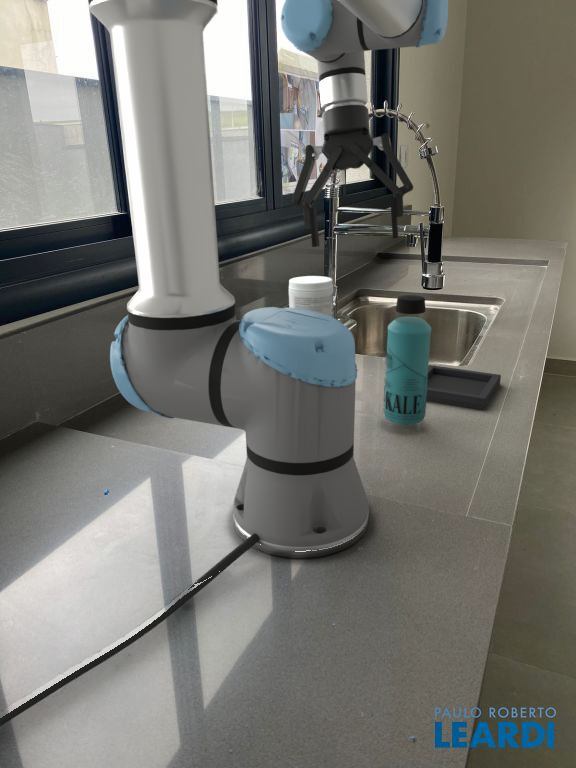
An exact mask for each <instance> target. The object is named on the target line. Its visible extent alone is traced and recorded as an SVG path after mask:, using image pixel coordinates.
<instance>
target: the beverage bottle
mask: <svg viewBox="0 0 576 768" xmlns="http://www.w3.org/2000/svg"><path fill="white" fill-rule="evenodd" d="M395 312H396V313H399V314H404V315H420V314H424V313H426V298H425V297H424V296H422V295H418V294H404V295H399V296H397V299H396V306H395ZM431 335H432V327H431V325H430V324H429V323H428V322H427V321H426V319H424V318H421V317H417V316H399V317H397V318H395V319H393V320H392V321H391V322H390V323H389V324H388V325H387V339H386V340H387V342H386V343H385V345H386V346H385V347H386V350H385V360H384V361H385V362H384V364H385V378H384V382H383V383H384V390H383V408H382V409H383V414H384V417H385V419H386V420H388V421H390V422H392V423H395V424H400V425H414V424H415V425H416V424H418V423H421V422H423V421H424V419H425V418H426V413H427V409H428V405H427V404H428V401H427V400H426V397H427V393H428V392H427V385H428V384H427V382H428V366H429V361H430V349H431Z"/></svg>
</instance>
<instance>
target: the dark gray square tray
mask: <svg viewBox="0 0 576 768" xmlns="http://www.w3.org/2000/svg"><path fill="white" fill-rule="evenodd" d="M501 377H502V374H498V373H490V372H483V371H477V370H469V369H462V368H455V367H447V366H442V365H441V366H440V365H434V364H428V382H427V384H428V385H427V392H428V393H427V397H426V400H427V401H426V402H433V403H440V404H445V405H450V406H457V407H463V408H469V409H474V410H475V409H476V410H481V411H485V410H486V408H487V406H488V405H489V403H490V401H491V400H492V398H493V397H494V396H495V394H496V392H497V390H498V389H499V387H500V386H501V379H502V378H501Z"/></svg>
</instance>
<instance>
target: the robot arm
mask: <svg viewBox="0 0 576 768" xmlns="http://www.w3.org/2000/svg"><path fill="white" fill-rule="evenodd" d="M87 1H88V7H89V11H90V13H91V14H92V15H93V16H94V17H95V18H96V19H97V20H98V21H99V22H100V23H101V24H102V25H103V26H104V27H105V28H106V30H107V31H108V33H109V39H110V47H111V48H110V49H111V56H112V66H113V73H114V74H113V75H114V82H115V92H116V99H117V100H116V101H117V108H118V116H119V117H118V118H119V125H120V132H121V144H122V150H123V160H124V170H125V177H126V186H127V194H128V203H129V204H128V205H129V211H130V213H129V214H130V218H131V219H130V220H131V227H132V228H131V229H132V238H133V245H134V255H135V265H136V272H137V280H138V282H137V283H138V290H137V291H136V293H135V294H134V295H133V296H132V297H131V298H130V300H128V302H127V303H126V313H127V315H126V316H124V318H123V319H122V320H120V321H119V323H118V325H117V326H116V328H115V330H114V333H113V336H114V337H115V340H113V341H111V343H110V351H109V362H110V363H109V364H110V371H111V374H112V377H113V380H114V383H115V385H116V388H117V389H118V391H119V393H120V394H121V395H122V397H123V398H124V400H126V402H128V403H129V405H132V406H133V407H135V408H136V409H138V410H141V411H144V412H147V413H153V414H155V415H157V416H159V417H163V418H166V419H179V420H185V421H191V422H198V423H203V424H209V425H215V426H220V427H227V428H231V429H232V428H233V429H238V430H242V431H244V432H245V445H246V447H245V448H246V449H245V450H246V460H245V463H244V467H243V470H242V472H241V476H240V480H239V483H238V486H237V489H236V492H235V494H234V495H235V496H234V498H233V504H232V505H233V507H232V520H233V521H232V522H233V526H234V530H235V532H236V533H237V536H239V538H240V539H241V540H242V541H243V542H241V543H240V544H238V545H237V546H236V547H235V548H234V549H233V550H232V551H230V552H229V553H228V554H227V555H225V556H224V557H223V558H222V559H221V560H219V561H218V562H217V563H216V564H215V565H213V566H212V567H211V568H210V569H209V570H208V571H206V572H205V573H204V574H203V575H202V576H200V577H199V578H198V579H196V581H197V582H196V581H194V582H195V583H194V582H193V583H194V584H197V583H200V582H203V581H204V580H206V579H207V580H206V581H204V582H203V583H201V584H200V585H198V586H197V587H196V588H194V589H193V590H192V591H190V592H189V593H187V594H186V595H184V596H183V597H182V598H181V599H179V600H178V601H177V602H176V603H175V604H174V605H172V606H171V607H170V608H169V609H168V610H167V611H166V612H164V613H163V614H162V615H161V616H160V617H158V618H157V619H156V620H154V621H153V622H152V623H151V624H149V625H148V626H146V627H145V628H144V629H142V630H141V631H139V632H138V633H137V634H135V635H134V636H132V637H131V638H129V639H128V640H126V641H125V642H123V643H121V644H120V645H118V646H117V647H115V648H114V649H112V650H110V651H109V652H107V653H105V654H104V655H102V656H100V657H99V658H97V659H95V660H94V661H92V662H90V663H89V664H87V665H85V666H84V667H82V668H80V669H79V670H77V671H75V672H74V673H72V674H71V675H69V676H67V677H66V678H64V679H62V680H61V681H59V682H58V683H56V684H54V685H53V686H51V687H50V688H48V689H46V690H45V691H43V692H42V693H40V694H38V695H37V696H35V697H34V698H32V699H30V700H29V701H27V702H26V703H24V704H22V705H21V706H19V707H18V708H16V709H14V710H13V711H11V712H10V713H8V714H6V715H5V716H3V717H2V718H0V727H2V726H4V725H5V724H7V723H8V722H9V721H11V720H12V719H15V718H16V717H18V716H19V715H21V714H22V713H24V712H25V711H27V710H28V709H30V708H32V707H33V706H35V705H37V704H38V703H39V702H41V701H43V700H45V699H46V698H47V697H49V696H51V695H52V694H53V693H56V692H57V691H59V690H60V689H62V688H63V687H65V686H67V685H69V683H71V682H73V681H75V680H77V679H78V678H79V677H82V676H83V675H85V674H86V673H87V672H89V671H91V670H92V669H94V668H96V667H98V666H99V665H102V663H104V662H106V661H108V660H109V659H110V658H112V657H114V656H115V655H118V653H120V652H121V651H123V650H125V649H127V647H129V646H131V645H132V644H134V643H135V642H136V641H138V640H139V639H141V638H143V637H144V636H145V635H147V634H148V633H149V632H150V631H152V630H153V629H155V628H156V627H157V626H159V625H160V624H161V623H162V622H164V621H166V620H167V619H168V618H169V617H170V616H171V615H173V614H174V613H175V612H176V611H178V610H179V609H180V608H181V607H182V606H184V605H185V604H186V603H187V602H188V601H189V600H191V599H192V598H193V597H194V596H196V594H198V593H199V592H200V591H201V590H203V589H204V588H205V587H206V586H207V585H209V584H210V583H211V582H212V581H213V580H214V579H216V578H217V577H218V576H220V574H222V573H223V572H224V571H225V570H227V568H229V566H231V565H232V564H233V563H234V562H236V561H237V560H238V559H239V558H240V557H242V556H243V555H244V554H245V553H247V551H249V550H250V549H251V548H254V549H256V550H258V551H261V552H263V553H265V554H269V555H273V556H278V557H284V558H290V559H291V558H293V559H296V558H297V559H309V558H319V557H324V556H328V555H332V554H335V553H338V552H340V551H343V550H346V549H348V548H349V547H351V546H352V545H354V544H355V543H357V542H358V541H359V540H360V539H361V538H362V537H363V536H364V534H365V533H366V531H367V529H368V527H369V526H368V525H369V520H370V519H369V517H370V516H369V515H370V514H369V513H370V508H369V501H368V497H367V494H366V491H365V488H364V485H363V482H362V479H361V476H360V472H359V470H358V467H357V463H356V461H355V458H354V457H355V455H354V454H355V453H354V452H355V451H354V447H355V415H356V383H357V382H356V381H357V379H358V369H357V368H358V366H357V363H356V342H355V338H354V335H353V333H352V331H351V330H350V328H348V326H346V325H345V324H344V323H343V322H342V321H340V320H338V319H337V318H335V317H333V318H332V317H330V316H328V315H325V314H322V313H318V312H314V311H310V310H305V309H298V308H289V307H283V308H281V307H276V306H268V307H260V308H255V309H251V310H250V311H248V312H246V313H245V314H244V315H243V316H242V318H241V320H237V313H236V298H235V296H234V295H233V294H232V293H231V292H229V290H228V289H226V288H225V287H224V286H223V285H222V283H221V281H220V280H221V278H220V262H219V250H218V249H219V248H218V236H217V235H218V233H217V220H216V219H217V218H216V204H215V190H214V189H215V188H214V175H213V174H214V173H213V159H212V144H211V143H212V142H211V128H210V114H209V101H208V100H209V99H208V85H207V83H208V82H207V69H206V52H205V40H204V39H205V38H204V33H205V30H206V29H207V27H208V26H209V25H210V24H211V22H212V21H213V19H214V18H215V17H216V15H218V12H219V6H218V5H219V4H218V0H87ZM280 13H281V14H280V26H281V30H282V32H283V34H284V36H285V38H286V39H287V40H288V42H289V43H291V44H292V45H293V47H294V48H295V49H296V50H298V51H299V52H302V53H304V54H306V55H307V56H310V57H312V58H313V59H315V60H316V63H317V72H318V85H319V87H318V88H319V97H320V98H319V99H320V108H321V109H322V110H323V113H322V115H321V120H322V132H323V144H322V145H312V144H307V145H306V146H305V153H304V154H305V155H304V156H305V157H304V159H305V160H304V162H303V165H302V168H301V171H300V174H299V177H298V180H297V183H296V184H295V185H296V186H295V188H294V191H293V194H292V196H291V200H290V203H291V205H293V206H297V207H300V208H301V209H302V214H303V215H302V216H303V225H304V227H305V228H310V237H311V247H312V248H318V247H320V246H321V245H320V235H319V225H318V213H317V207H315V206H313V204H314V203H315V202H316V199H317V198H318V196H319V195H320V194H321V192H322V190H323V188H324V187H325V186H326V184H327V182H328V181H329V180H330V178H331V177H332V175H333V174H334V173H335V171H336V170H339V171H341V172H342V171H347V170H349V169H354V170H355V169H360V168H362V167H363V166H364V165H365V166H366V167H367V168H368V169H369V170H370V171H371V173H373V174H374V175H375V176H376V177H377V179H379V180H380V182H381V183H382V184H383V185H384V186H386V187H387V188H388V190H390V192H391V193H393V194H394V196H393V197H392V196H391V197H390V198H389V202H390V217H391V231H392V233H391V234H392V239H399V225H398V223H399V222H398V218H402V217H404V214H405V211H404V209H405V208H404V196H405V195H406V194H408V193H411V192H412V191H414V185H413V183H412V181H411V180H410V178H409V176H408V174H407V172H406V171H405V169H404V167H403V166H402V163H401V162H400V161H399V159H398V157H397V155H396V154H395V152H394V150H393V148H392V142H391V138H390V135H389V134H388V133H386V132H385V133H384V132H383V133H382V134H381V135H380V136H377V137H376V136H375V137H373V138H372V135H371V131H370V129H371V128H370V115H369V108H368V106H366V105H367V103H368V102H369V101H368V87H367V75H366V61H365V59H366V58H365V52H367V51H368V52H369V51H377V50H389V49H400V48H401V49H402V48H413V47H415V48H420V47H422V46H428V45H435V44H439V43H440V42H441V41H442V40H443V39H444V37H445V34H446V31H447V28H448V20H449V0H285V1H284V2H283V5H282V8H281V12H280ZM375 146H377V148H378V150H380V151H383V152H384V154H385V155H386V158H387V159H388V161H389V163H390V164H391V166H392V168H393V169H394V171H395V173H396V175H397V176H398V177H399V180H400V181H401V183H402V186H400V187H399V185H397V184H396V183H395V182H394V181H393V180H392V178H390V177H389V176H388V175H387V174H386V173H385V172H384V171H383V169H381V168H380V166H378V164H376V163H375V162H374V161H373V160H372V159H371V157H369V156H370V154H371V152H372V150H373V148H374V147H375ZM322 154H323V155H324V157H325V158H326V159H327V162H326V163H325V164H324V166H323V168H322V170H321V172H320V173H319V175H318V177H316V179H315V181H314V183H313V184H312V186H311V188H310V189H309V191H307V193H306V190H307V188H308V187H307V186H308V184H309V181H310V179H311V176H312V173H313V170H314V167H315V163H316V161H317V160H319V158H320V155H322ZM305 193H306V196H305ZM304 196H305V197H304ZM234 522H235V523H234ZM366 523H367V524H366ZM235 524H236V525H235ZM365 525H366V526H365ZM236 526H237V527H236ZM364 526H365V527H364ZM363 528H364V529H363ZM362 529H363V530H362ZM239 530H240V531H241V532H242V533H243V534H244V535H243V534H242V533H241V532H240V531H239ZM361 530H362V531H361ZM360 531H361V532H360ZM359 532H360V533H359ZM358 533H359V534H358ZM357 534H358V535H357ZM355 535H357V536H355ZM353 536H355V537H354V538H353V539H351V540H349V541H347V542H345V543H343V541H346V540H348V539H350V538H352V537H353ZM247 537H248V538H247ZM340 543H343V544H341V545H338V546H335V547H332V546H334V545H337V544H340ZM260 544H261V545H260ZM330 546H331V547H332V548H328V547H330ZM323 548H328V549H323ZM319 549H323V550H319ZM306 550H311V551H306ZM312 550H317V551H312ZM295 551H306V552H295ZM219 571H220V572H219ZM211 576H212V577H211ZM209 577H211V578H209ZM208 578H209V579H208ZM193 583H192V584H193ZM192 584H191V585H192ZM194 584H193V585H192V586H191V585H190V586H191V587H190V588H192V587H194V586H195V585H194ZM190 588H189V589H190ZM189 589H188V590H189ZM180 594H181V593H179V594H178V595H177V596H179V595H180ZM174 599H175V598H173V599H172V600H174Z"/></svg>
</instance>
